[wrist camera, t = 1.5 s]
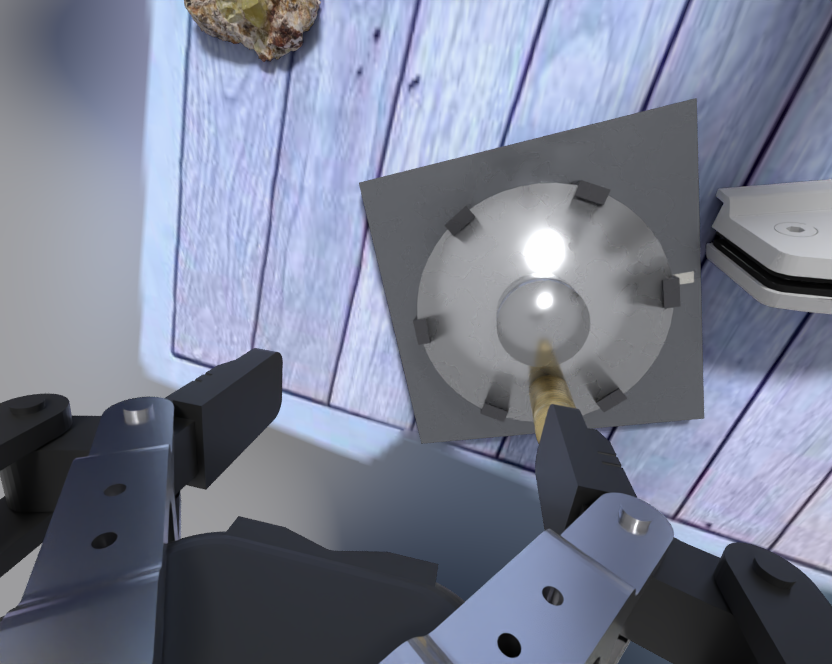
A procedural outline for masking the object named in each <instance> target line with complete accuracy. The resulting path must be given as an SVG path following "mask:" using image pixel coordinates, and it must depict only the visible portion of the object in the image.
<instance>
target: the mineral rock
mask: <svg viewBox="0 0 832 664" xmlns="http://www.w3.org/2000/svg"><path fill="white" fill-rule="evenodd" d="M320 3H321V2H320V1H319V0H184V4H185V7H186V9H187V10H188V12H189V13H190V14H191V16H192V18H193V20H194V21H195V22H196V23H197V24H198V25H199V27H200V28H201V31H204V32H205V33H206V34H208V35H210V36H212V37H218V38H219V39H222V40H223V41H229V42H232V43H233V44H236V43H240V42H241V43H242V44H243V45H244V46H245V47H247V48H249V50H250V49H254V50H255V51H256V53H257V54H258V56H259V59H261V60H262V61H263V62H265V61H266V60H268V61H271V60H272V59H273V58H275V59H279V58H280V57H281V56H283V55H285V54H287V53H289V52H290V51H296V50H297V49H299V48H300V47H301V46H302V43H303V39H302V37H303V35H302V34H303V32H304V31H309V29H310V27H311V26H312V25H313V24H314V20H315V19H316V17H317V11H318V9H319V5H320Z"/></svg>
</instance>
